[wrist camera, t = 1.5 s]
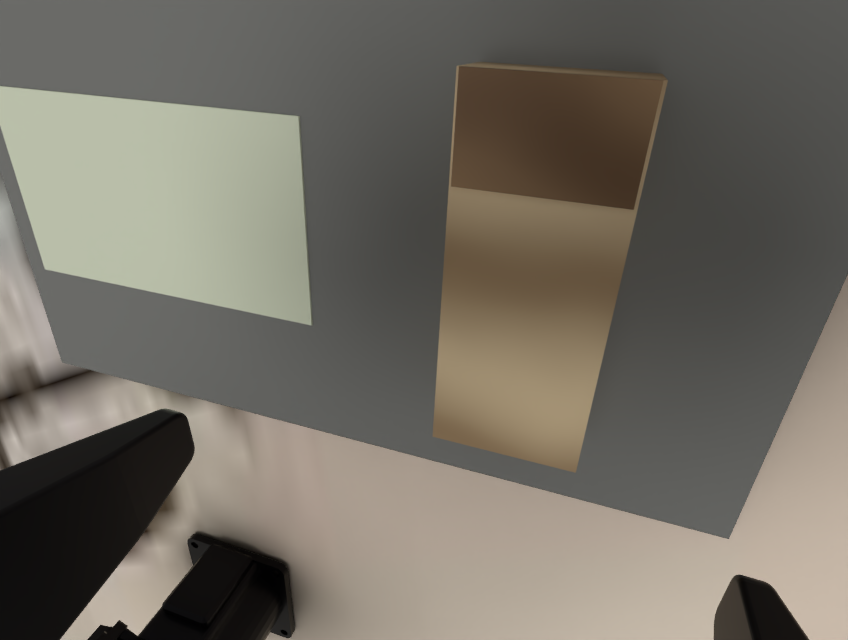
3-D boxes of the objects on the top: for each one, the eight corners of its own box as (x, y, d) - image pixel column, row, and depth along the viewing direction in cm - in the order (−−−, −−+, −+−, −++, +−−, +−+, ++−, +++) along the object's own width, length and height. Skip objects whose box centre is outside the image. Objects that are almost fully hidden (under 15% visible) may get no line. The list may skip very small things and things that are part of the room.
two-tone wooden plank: (581, 427, 20) (575, 475, 18) (451, 397, 22) (431, 439, 19) (662, 73, 15) (668, 80, 12) (479, 61, 16) (454, 66, 14)
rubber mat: (726, 528, 21) (729, 541, 20) (70, 357, 29) (60, 363, 29) (998, -87, 12) (1013, -91, 11) (-68, -82, 20) (-86, -85, 20)
